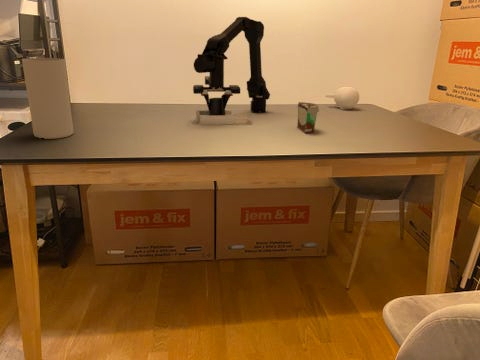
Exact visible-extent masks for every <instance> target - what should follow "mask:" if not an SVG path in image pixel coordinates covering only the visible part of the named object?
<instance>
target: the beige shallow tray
mask: <svg viewBox="0 0 480 360" xmlns="http://www.w3.org/2000/svg"><path fill="white" fill-rule="evenodd" d="M195 111H196V112H195V115H196V116H195V117H196V118H195V120H196V124H197V126H198V125H201V126H202V125H203V126H204V125H205V126H206V125H209V126H210V125H216V126H217V125H221V126H222V125H253V122H252V120H250V119H249V117H248V116H236V114H232V113H233V110H232V109H225V115H210V111H209V109H196V110H195Z"/></svg>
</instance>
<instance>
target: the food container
mask: <svg viewBox="0 0 480 360" xmlns="http://www.w3.org/2000/svg"><path fill="white" fill-rule="evenodd" d="M318 112H320V107H319V105H318V104H316V103H314V102H313V103H312V102H305V101H303V102H302V101H301V102H299V101H298V104H297V125H296V128H297V129H298V130H299V131H300V132H302V133H304V134H313V133H314V132H315V127H316V120H317V116H318Z"/></svg>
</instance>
